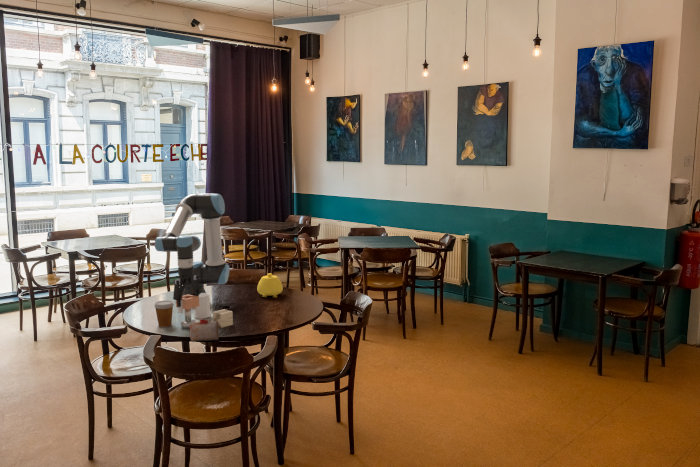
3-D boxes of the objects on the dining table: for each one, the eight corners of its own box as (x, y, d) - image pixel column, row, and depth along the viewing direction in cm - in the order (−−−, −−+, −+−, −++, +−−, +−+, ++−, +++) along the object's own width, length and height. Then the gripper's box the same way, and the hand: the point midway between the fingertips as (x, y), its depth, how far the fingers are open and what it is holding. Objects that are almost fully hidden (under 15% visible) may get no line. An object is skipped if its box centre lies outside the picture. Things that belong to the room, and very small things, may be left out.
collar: (176, 307, 305) (175, 297, 304) (188, 303, 311) (188, 294, 310) (186, 309, 300) (186, 299, 299) (199, 306, 307) (198, 296, 306)
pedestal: (213, 325, 311) (212, 311, 310) (224, 322, 316) (224, 309, 315) (221, 327, 306) (221, 314, 305) (232, 324, 311) (232, 311, 310)
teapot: (259, 291, 383) (259, 269, 381) (284, 290, 384) (283, 269, 382) (255, 299, 364) (255, 276, 362) (281, 298, 364) (281, 276, 362)
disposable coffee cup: (157, 323, 315) (156, 300, 313) (176, 322, 316) (175, 300, 314) (153, 328, 306) (152, 305, 304) (172, 327, 306) (171, 304, 305)
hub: (178, 327, 307) (177, 308, 306) (190, 324, 312) (189, 305, 311) (186, 330, 302) (185, 310, 301) (198, 327, 308) (197, 307, 306)
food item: (188, 342, 283) (187, 322, 282) (190, 337, 291) (189, 317, 290) (218, 341, 285) (217, 321, 284) (219, 336, 293) (219, 316, 292)
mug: (192, 313, 332) (191, 292, 330) (207, 312, 335) (206, 290, 334) (195, 319, 321) (194, 297, 320) (211, 317, 325) (210, 295, 323)
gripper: (173, 271, 292) (175, 316, 295) (206, 264, 309) (208, 307, 312) (163, 269, 297) (166, 314, 300) (197, 262, 313) (198, 305, 317)
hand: (187, 310), depth 306 cm, fingers closed on collar, 8 cm apart
